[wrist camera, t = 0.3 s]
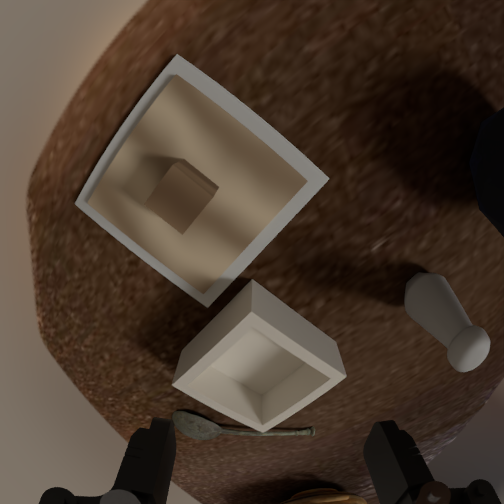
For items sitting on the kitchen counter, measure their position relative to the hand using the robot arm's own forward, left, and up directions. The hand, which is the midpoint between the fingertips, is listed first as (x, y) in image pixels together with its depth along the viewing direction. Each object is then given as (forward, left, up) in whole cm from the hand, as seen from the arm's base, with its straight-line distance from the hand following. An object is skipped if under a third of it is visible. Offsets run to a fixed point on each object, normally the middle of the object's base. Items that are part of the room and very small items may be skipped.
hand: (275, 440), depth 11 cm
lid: (0, -9, -21) cm, 23 cm away
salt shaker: (-8, +17, -22) cm, 29 cm away
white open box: (+10, +8, -22) cm, 26 cm away
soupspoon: (+24, +17, -23) cm, 37 cm away
